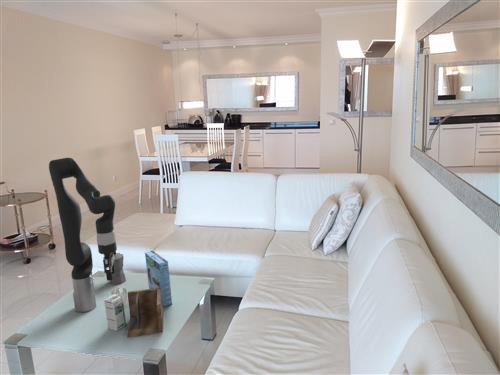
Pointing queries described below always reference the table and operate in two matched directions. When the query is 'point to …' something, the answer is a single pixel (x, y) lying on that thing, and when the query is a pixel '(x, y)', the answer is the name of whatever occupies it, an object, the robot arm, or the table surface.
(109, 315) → the syrup box
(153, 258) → the gum box
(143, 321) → the bookshelf
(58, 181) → the robot arm
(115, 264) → the coffeepot
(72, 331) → the table surface
